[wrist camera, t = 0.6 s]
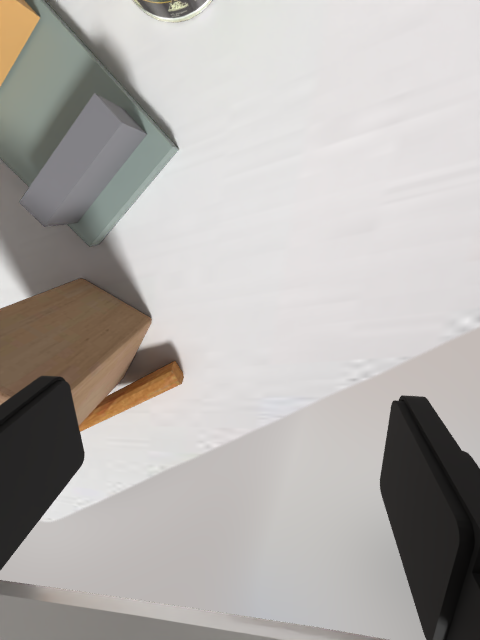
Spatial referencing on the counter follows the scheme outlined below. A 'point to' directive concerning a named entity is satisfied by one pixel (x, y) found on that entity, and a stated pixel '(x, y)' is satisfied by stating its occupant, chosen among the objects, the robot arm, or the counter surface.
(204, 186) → the counter surface
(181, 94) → the counter surface
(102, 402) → the hammer
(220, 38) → the counter surface
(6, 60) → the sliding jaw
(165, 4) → the coffee can
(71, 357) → the wooden block
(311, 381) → the counter surface
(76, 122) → the vise
